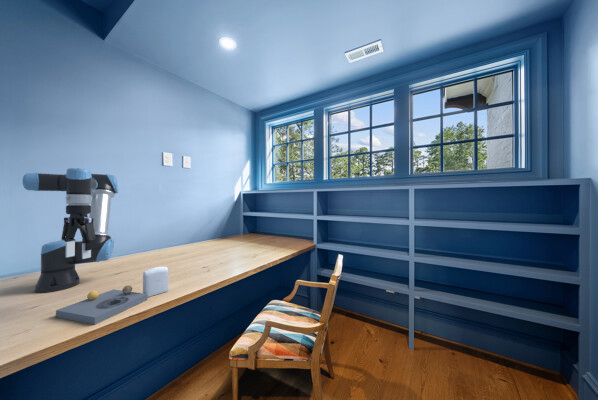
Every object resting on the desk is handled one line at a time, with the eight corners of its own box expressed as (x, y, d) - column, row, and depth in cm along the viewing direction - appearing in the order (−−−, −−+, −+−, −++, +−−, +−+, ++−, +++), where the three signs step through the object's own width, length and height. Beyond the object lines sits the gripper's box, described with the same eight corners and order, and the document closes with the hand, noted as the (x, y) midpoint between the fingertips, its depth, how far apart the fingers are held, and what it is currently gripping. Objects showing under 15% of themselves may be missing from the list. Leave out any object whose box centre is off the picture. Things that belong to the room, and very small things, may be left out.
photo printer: (144, 298, 97) (144, 271, 97) (141, 296, 99) (141, 269, 99) (169, 291, 104) (170, 265, 105) (166, 289, 107) (166, 264, 107)
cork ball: (120, 294, 95) (120, 286, 95) (128, 291, 98) (128, 283, 98) (126, 295, 94) (126, 287, 94) (134, 292, 97) (134, 284, 97)
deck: (55, 316, 81) (55, 310, 81) (113, 294, 101) (113, 289, 101) (94, 324, 76) (94, 317, 76) (147, 299, 96) (147, 294, 96)
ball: (84, 300, 89) (84, 292, 89) (94, 297, 92) (94, 289, 92) (91, 301, 88) (91, 293, 88) (100, 298, 91) (100, 289, 91)
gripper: (49, 204, 92) (48, 257, 92) (86, 205, 86) (86, 261, 86) (71, 204, 99) (71, 253, 99) (107, 204, 94) (106, 256, 94)
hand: (78, 257), depth 93 cm, fingers open, 9 cm apart
